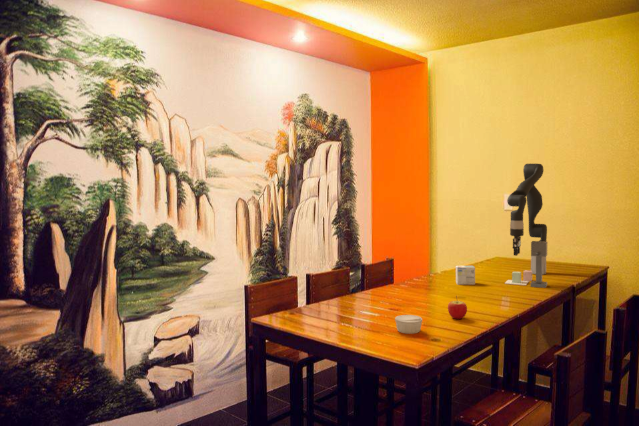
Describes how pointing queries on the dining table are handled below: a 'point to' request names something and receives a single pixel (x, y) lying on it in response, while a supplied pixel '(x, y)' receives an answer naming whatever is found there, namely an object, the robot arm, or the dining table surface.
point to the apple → (457, 309)
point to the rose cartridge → (527, 275)
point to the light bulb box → (465, 275)
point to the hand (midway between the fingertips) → (516, 254)
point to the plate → (516, 283)
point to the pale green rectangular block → (516, 277)
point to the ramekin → (408, 324)
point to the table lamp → (539, 261)
